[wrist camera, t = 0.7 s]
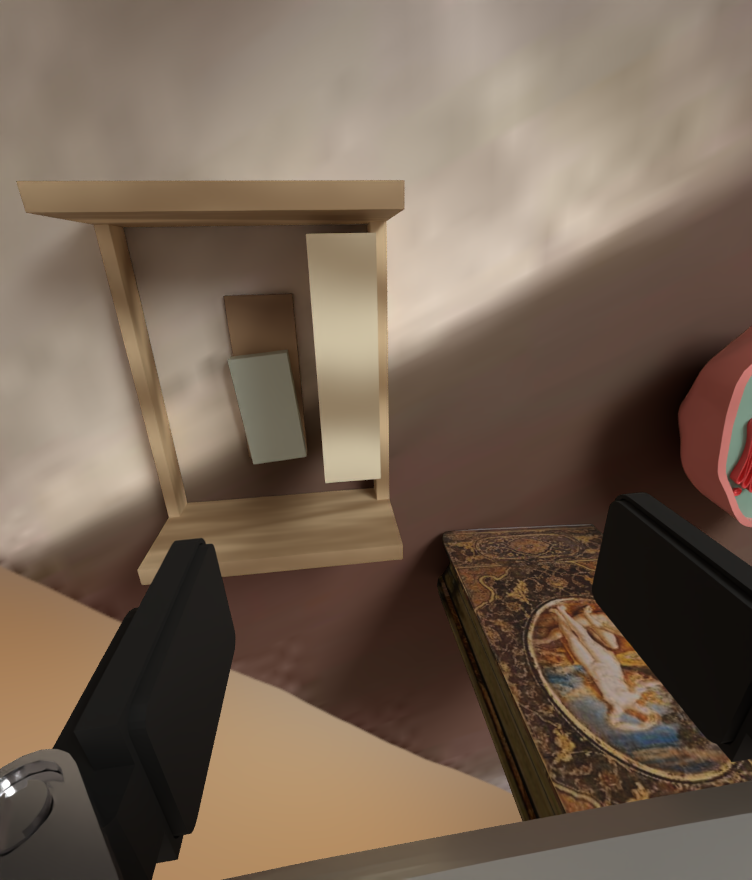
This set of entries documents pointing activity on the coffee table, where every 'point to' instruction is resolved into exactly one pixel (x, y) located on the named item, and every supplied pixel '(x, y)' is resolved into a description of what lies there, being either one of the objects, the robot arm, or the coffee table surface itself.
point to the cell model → (721, 429)
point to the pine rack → (218, 522)
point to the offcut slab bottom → (265, 331)
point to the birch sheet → (346, 352)
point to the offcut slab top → (268, 405)
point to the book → (566, 677)
